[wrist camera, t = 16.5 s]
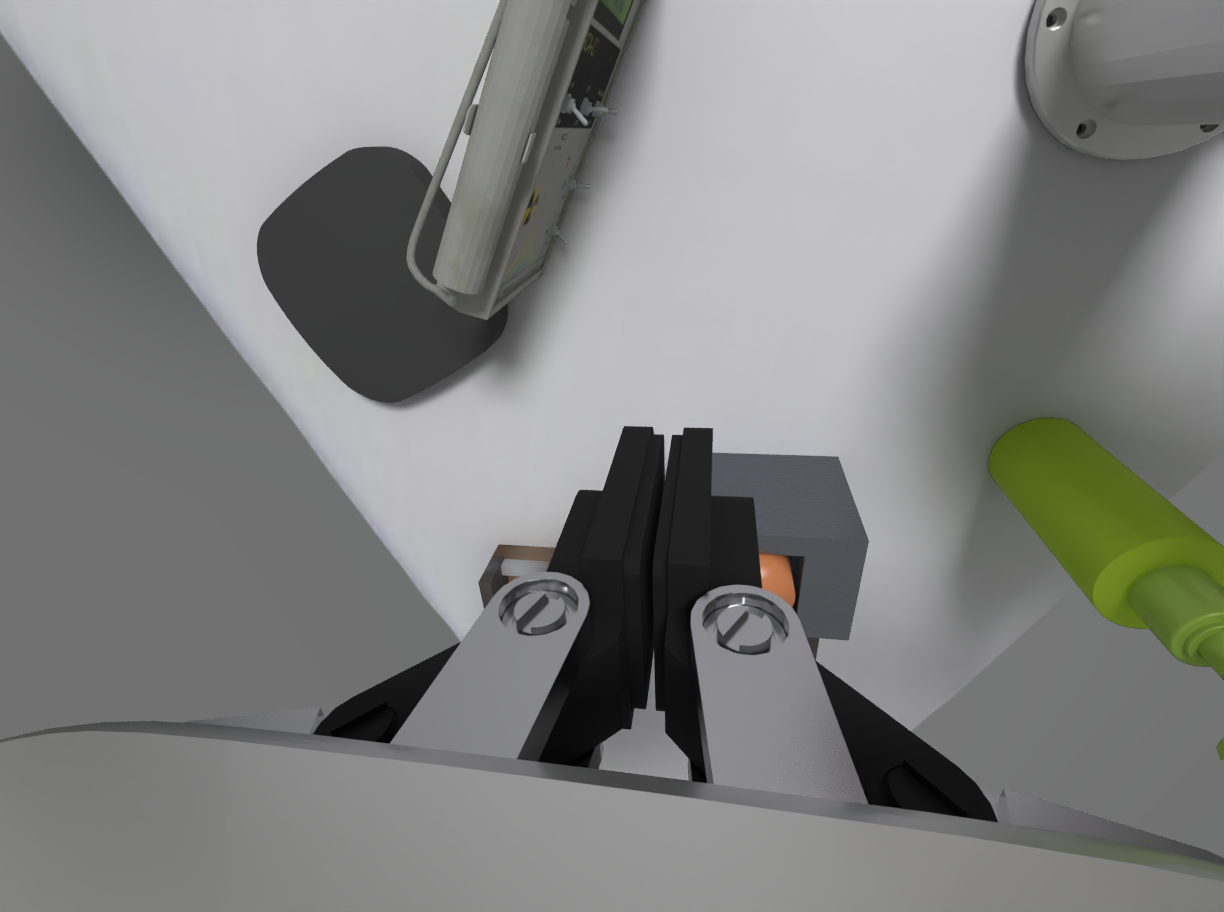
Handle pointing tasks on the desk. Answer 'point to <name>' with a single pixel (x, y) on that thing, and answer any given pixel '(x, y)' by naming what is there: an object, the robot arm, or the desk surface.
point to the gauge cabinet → (804, 530)
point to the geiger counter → (523, 145)
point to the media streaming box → (369, 275)
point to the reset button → (777, 576)
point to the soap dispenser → (1117, 538)
